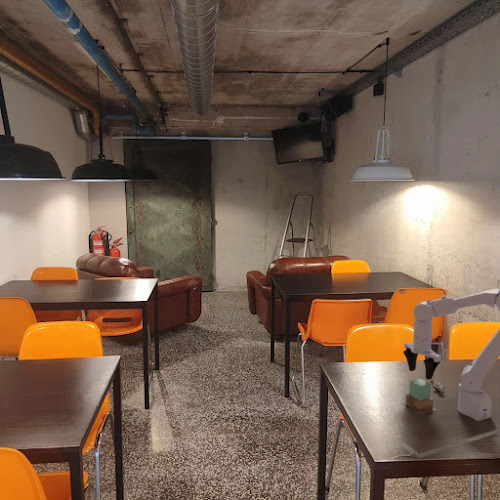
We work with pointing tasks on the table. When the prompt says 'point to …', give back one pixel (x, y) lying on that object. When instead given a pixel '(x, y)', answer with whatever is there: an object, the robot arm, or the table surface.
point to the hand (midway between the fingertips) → (420, 374)
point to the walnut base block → (419, 403)
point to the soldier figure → (438, 384)
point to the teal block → (420, 389)
